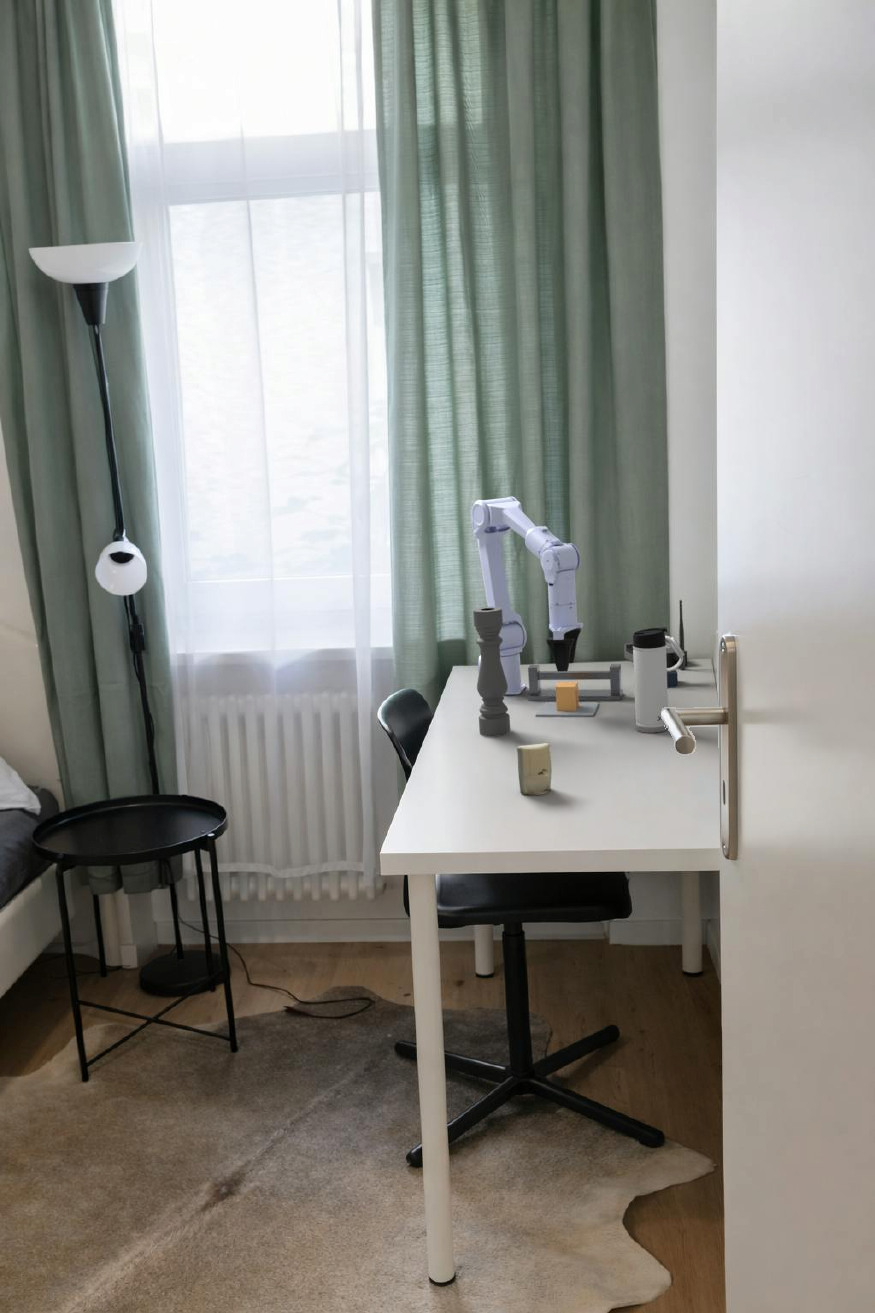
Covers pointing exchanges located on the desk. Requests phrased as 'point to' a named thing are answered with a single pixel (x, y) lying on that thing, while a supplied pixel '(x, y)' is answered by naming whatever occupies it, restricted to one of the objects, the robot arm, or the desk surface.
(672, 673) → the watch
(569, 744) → the desk surface
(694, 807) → the desk surface
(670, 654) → the wifi router
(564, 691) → the clip
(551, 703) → the mat
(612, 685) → the rail stand
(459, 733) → the desk surface
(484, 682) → the candle holder
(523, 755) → the beige tall block
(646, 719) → the travel mug
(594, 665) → the desk surface
